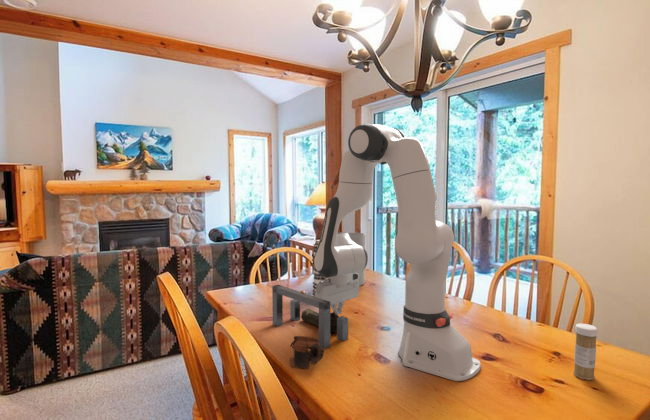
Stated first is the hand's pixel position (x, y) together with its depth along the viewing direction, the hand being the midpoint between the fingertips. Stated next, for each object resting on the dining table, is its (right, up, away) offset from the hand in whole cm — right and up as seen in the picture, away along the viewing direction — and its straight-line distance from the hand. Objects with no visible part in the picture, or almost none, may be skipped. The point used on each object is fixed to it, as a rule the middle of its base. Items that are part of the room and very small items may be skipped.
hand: (337, 314), depth 134 cm
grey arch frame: (-13, -3, -12) cm, 18 cm away
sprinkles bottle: (+63, -6, -38) cm, 74 cm away
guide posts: (-7, -3, -7) cm, 10 cm away
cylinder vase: (+9, +1, +51) cm, 52 cm away
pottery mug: (-9, -5, -31) cm, 33 cm away
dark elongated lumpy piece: (-5, -3, -5) cm, 8 cm away
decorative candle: (-6, -1, +28) cm, 28 cm away
